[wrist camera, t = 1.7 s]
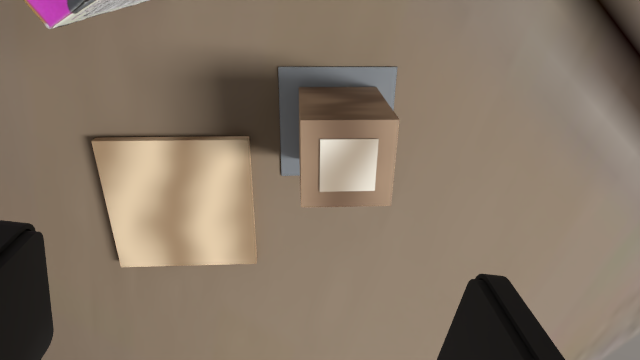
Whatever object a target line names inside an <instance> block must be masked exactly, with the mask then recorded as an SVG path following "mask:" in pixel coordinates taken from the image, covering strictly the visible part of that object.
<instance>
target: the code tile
mask: <svg viewBox="0 0 640 360" xmlns="http://www.w3.org/2000/svg"><path fill="white" fill-rule="evenodd" d="M278 72H279V106H280V139H281V172H282V176H291V175H300V164H299V87H377V88H378V90H379V91H380V93H381V94H382V96H383V97H384V98H385V100H386V101H387V103H388V104H389V106H390V107H391V108H392V110H393V109H394V98H395V87H396V76H397V67H278Z"/></svg>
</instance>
